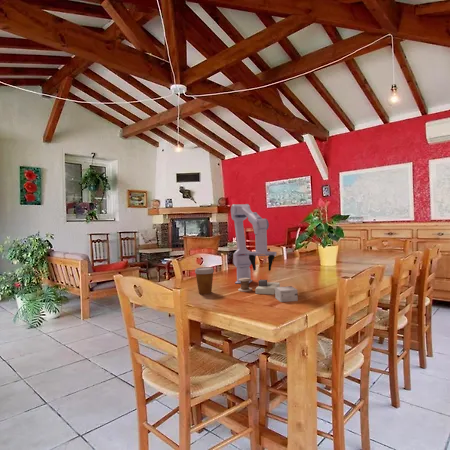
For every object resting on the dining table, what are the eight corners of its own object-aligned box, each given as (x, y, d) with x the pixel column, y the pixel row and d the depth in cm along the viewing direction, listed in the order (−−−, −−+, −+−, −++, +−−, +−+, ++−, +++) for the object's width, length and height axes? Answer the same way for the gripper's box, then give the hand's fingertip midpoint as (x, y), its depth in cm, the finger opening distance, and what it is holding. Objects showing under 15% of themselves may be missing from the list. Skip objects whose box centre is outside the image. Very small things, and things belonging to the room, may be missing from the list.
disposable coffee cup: (217, 290, 167) (216, 267, 166) (211, 295, 157) (210, 270, 157) (199, 290, 169) (198, 267, 169) (192, 294, 160) (191, 269, 160)
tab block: (260, 289, 167) (260, 279, 167) (267, 289, 166) (267, 279, 166) (258, 291, 163) (258, 281, 163) (265, 291, 162) (265, 281, 162)
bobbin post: (240, 288, 171) (239, 277, 171) (253, 288, 168) (253, 277, 168) (236, 291, 164) (236, 280, 164) (250, 291, 162) (249, 280, 162)
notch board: (262, 286, 173) (262, 282, 172) (279, 287, 170) (279, 282, 170) (255, 293, 157) (255, 288, 157) (274, 294, 154) (274, 289, 154)
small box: (280, 302, 140) (280, 290, 140) (274, 298, 148) (274, 286, 148) (298, 301, 141) (297, 289, 141) (291, 297, 149) (291, 285, 149)
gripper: (245, 243, 163) (245, 271, 163) (274, 243, 158) (275, 271, 158) (248, 242, 169) (249, 269, 170) (276, 242, 165) (277, 269, 165)
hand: (262, 270), depth 164 cm, fingers open, 7 cm apart
